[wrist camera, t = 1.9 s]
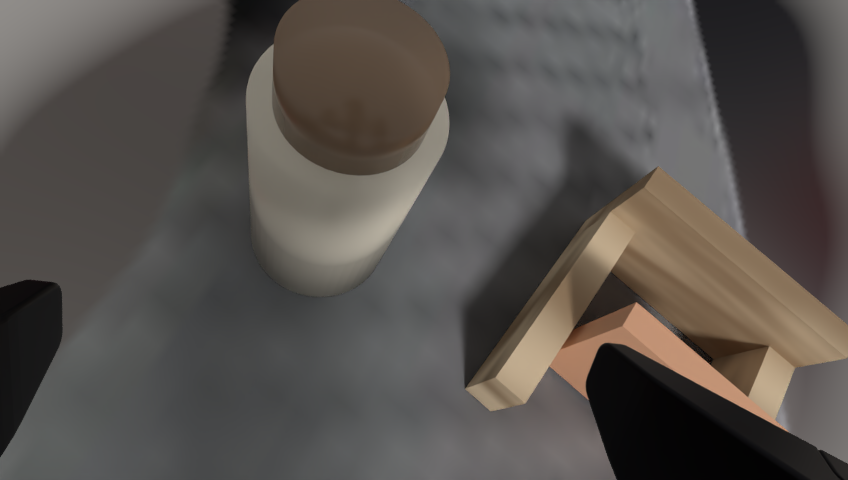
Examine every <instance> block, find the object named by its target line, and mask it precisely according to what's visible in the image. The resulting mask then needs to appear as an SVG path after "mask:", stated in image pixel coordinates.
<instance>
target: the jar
mask: <svg viewBox="0 0 848 480" xmlns="http://www.w3.org/2000/svg"><path fill="white" fill-rule="evenodd" d="M449 80H450V67H449V61H448V57H447V53H446V51H445V48H444V46H443V44H442V42H441V40H440V38H439V37H438V35H437V34H436V32H435V31H434V29H433V28H432V27H431V26H430V25H429V24H428V23H427V21H426V20H424V19H423V18H422V17H421V16H420V15H419V14H418V13H417V12H415V11H414V10H413V9H411V8H410V7H408V6H407V5H405V4H403V3H402V2H400V1H398V0H299V1H298V2H296V3H295V4H294V5H293V6H291V7H290V9H289V10H288V11H287V12H286V13H285V14H284V16H283V17H282V19H281V20H280V22H279V24H278V27H277V29H276V33H275V37H274V44H273V45H272V46H270V47H269V48H268V49H267V50H266V51H265V52H264V53H263V55H262V56H261V57H260V58H259V60H258V61H257V63H256V64H255V66H254V68H253V70H252V72H251V75H250V77H249V81H248V85H247V90H246V119H247V144H248V170H249V196H250V222H251V241H252V246H253V251H254V253H255V256H256V258H257V260H258V262H259V264H260V266H261V267H262V268H263V270H264V271H265V272H266V273H267V274H268V275H269V276H270V277H271V278H272V279H273V280H274V281H275V282H276V283H278V284H279V285H281V286H282V287H284V288H286V289H288V290H290V291H292V292H295V293H298V294H301V295H305V296H311V297H329V296H335V295H339V294H342V293H345V292H348V291H350V290H352V289H354V288H356V287H357V286H359V285H360V284H361V283H363V282H364V281H365V280H366V279H367V278H368V277H369V276H370V275H371V274H372V272H373V271H374V270H375V268H376V266H377V265H378V263H379V261H380V260H381V258H382V256H383V254H384V253H385V251H386V249H387V248H388V246H389V244H390V243H391V241H392V239H393V237H394V236H395V234H396V232H397V231H398V229H399V227H400V226H401V224H402V222H403V220H404V219H405V217H406V215H407V214H408V212H409V210H410V208H411V207H412V205H413V203H414V202H415V200H416V198H417V197H418V195H419V193H420V191H421V190H422V188H423V186H424V185H425V183H426V181H427V180H428V178H429V176H430V174H431V173H432V171H433V169H434V168H435V166H436V164H437V163H438V161H439V159H440V157H441V156H442V154H443V151H444V149H445V147H446V144H447V139H448V135H449V124H450V123H449V111H448V107H447V102H446V99H445V95H446V93H447V90H448V86H449Z"/></svg>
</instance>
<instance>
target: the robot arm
mask: <svg viewBox="0 0 848 480" xmlns="http://www.w3.org/2000/svg"><path fill="white" fill-rule="evenodd" d="M61 338H62V292H61V288H60V286H59V285H58V284H57V283H54V282H47V281H38V280H24V281H21V282H17V283H14V284H11V285H7V286H4V287H1V288H0V457H1V455H2V454H3V452H4V451H5V449H6V448H7V446H8V444H9V443H10V441H11V440H12V438H13V436H14V435H15V433H16V431H17V429H18V427H19V425H20V424H21V422H22V420H23V418H24V416H25V414H26V412H27V410H28V408H29V406H30V404H31V402H32V400H33V398H34V396H35V394H36V392H37V390H38V388H39V386H40V384H41V382H42V380H43V378H44V376H45V374H46V372H47V370H48V368H49V366H50V364H51V362H52V360H53V358H54V356H55V354H56V352H57V350H58V348H59V345H60V342H61ZM586 393H587V396H588V399H589V402H590V405H591V408H592V411H593V414H594V417H595V420H596V423H597V426H598V429H599V432H600V435H601V438H602V441H603V444H604V447H605V450H606V453H607V456H608V459H609V461H610V464H611V467H612V469H613V471H614V474H615V476H616V479H617V480H848V464H847V463H845V462H843V461H841V460H840V459H838V458H836V457H834V456H832V455H830V454H828V453H826V452H825V451H823V450H818V449H817V448H816V447H815V446H813V445H811V444H809V443H808V442H806V441H804V440H802V439H800V438H798V437H796V436H795V435H793V434H791V433H789V432H787V431H785V430H783V429H781V428H780V427H778V426H776V425H774V424H772V423H770V422H768V421H766V420H765V419H763V418H761V417H759V416H757V415H755V414H753V413H752V412H750V411H748V410H746V409H744V408H742V407H740V406H738V405H737V404H735V403H733V402H731V401H729V400H727V399H725V398H723V397H722V396H720V395H718V394H716V393H714V392H712V391H710V390H709V389H707V388H705V387H703V386H701V385H699V384H697V383H695V382H694V381H692V380H690V379H688V378H686V377H684V376H682V375H680V374H679V373H677V372H675V371H673V370H671V369H669V368H667V367H666V366H664V365H662V364H660V363H658V362H656V361H654V360H652V359H651V358H649V357H647V356H645V355H643V354H641V353H639V352H638V351H636V350H634V349H632V348H630V347H628V346H626V345H623V344H616V343H604V344H602V345H601V346H600V347H599V348H598V350H597V353H596V355H595V358H594V360H593V363H592V365H591V368H590V371H589V373H588V376H587V379H586Z"/></svg>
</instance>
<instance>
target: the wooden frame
mask: <svg viewBox="0 0 848 480" xmlns="http://www.w3.org/2000/svg"><path fill="white" fill-rule="evenodd" d="M610 271H611V272H612V273H613V274H614V275H615V276H616V277H618V278H619V279H620V280H621V281H622V282H623V283H625V284H626V285H627V286H628V287H629V288H630V289H632V290H633V291H634V292H635V293H636V294H638V295H639V296H640V297H641V298H642V299H643V300H645V301H646V302H647V303H648V304H649V305H650V306H652V307H653V308H654V309H655V310H656V311H657V312H659V313H660V314H661V315H662V316H663V317H665V318H666V319H667V320H668V321H669V322H670V323H672V324H673V325H674V326H675V327H676V328H677V329H679V330H680V331H681V332H682V333H683V334H684V335H686V336H687V337H688V338H689V339H690V340H691V341H693V342H694V343H695V344H696V345H697V346H699V347H700V348H701V349H702V350H703V351H704V352H706V353H707V354H708V355H709V356H710V357H711V358H713V361H712V363H711V366H712V367H713V368H714V369H716V370H717V371H718V372H719V373H720V374H721V375H723V376H724V377H725V378H726V379H727V380H728V381H730V382H731V383H732V384H733V385H734V386H735V387H737V388H738V389H739V390H740V391H741V392H742V393H744V394H745V395H746V396H747V397H748V398H750V399H751V400H752V401H753V402H754V403H755V404H757V405H758V406H759V407H760V408H761V409H762V410H764V411H765V412H766V413H767V414H768V415H769V416H771V417H772V418H773V419H774V420H775V419H776V416H777V414H778V411H779V408H780V406H781V403H782V401H783V398H784V395H785V393H786V390H787V387H788V385H789V382H790V379H791V377H792V374H793V372H794V369H795V368H796V367H801V366H806V365H813V364H818V363H823V362H829V361H835V360H840V359H846V358H847V357H848V325H847V324H846V323H845V322H843V321H842V320H841V319H840V318H839V317H837V316H836V315H835V314H834V313H833V312H831V311H830V310H829V309H828V308H827V307H826V306H824V305H823V304H822V303H821V302H820V301H818V300H817V299H816V298H815V297H813V296H812V295H811V294H810V293H809V292H808V291H806V290H805V289H804V288H803V287H802V286H801V285H799V284H798V283H797V282H796V281H795V280H793V279H792V278H791V277H790V276H789V275H787V274H786V273H785V272H784V271H783V270H781V269H780V268H779V267H778V266H777V265H775V264H774V263H773V262H772V261H771V260H769V259H768V258H767V257H766V256H765V255H764V254H762V253H761V252H760V251H759V250H758V249H756V248H755V247H754V246H753V245H751V244H750V243H749V242H748V241H747V240H746V239H744V238H743V237H742V236H741V235H740V234H739V233H737V232H736V231H735V230H734V229H733V228H731V227H730V226H729V225H728V224H727V223H725V222H724V221H723V220H722V219H721V218H719V217H718V216H717V215H716V214H715V213H713V212H712V211H711V210H710V209H709V208H708V207H706V206H705V205H704V204H703V203H702V202H700V201H699V200H698V199H697V198H696V197H694V196H693V195H692V194H691V193H690V192H688V191H687V190H686V189H685V188H684V187H682V186H681V185H680V184H679V183H678V182H677V181H675V180H674V179H673V178H672V177H671V176H669V175H668V174H667V173H666V172H665V171H663V170H662V169H661V168H660V167H659V166H658V167H657V168H655V169H654V170H653V171H651V172H650V173H649V174H647V175H646V176H645V177H643V178H642V179H641V180H639V181H638V182H637V183H635V184H634V185H633V186H631V187H630V188H629V189H627V190H626V191H625V192H623V193H622V194H621V195H619V196H618V197H617V198H615V199H614V200H613V201H611V202H610V203H609V204H607V205H606V206H605V207H603V208H602V209H601V210H599V211H598V212H597V213H595V214H594V215H593V216H591V217H590V218H589V219H587V220H586V221H585V222H584V224H583V225H582V227H581V228H580V229H579V231H578V232H577V234H576V235H575V236H574V238H573V239H572V240H571V242H570V243H569V245H568V246H567V247H566V249H565V250H564V252H563V253H562V254H561V256H560V257H559V259H558V260H557V261H556V263H555V264H554V266H553V267H552V268H551V270H550V271H549V273H548V274H547V275H546V277H545V278H544V279H543V281H542V282H541V284H540V285H539V286H538V288H537V289H536V291H535V292H534V293H533V295H532V296H531V298H530V299H529V300H528V302H527V303H526V305H525V306H524V307H523V309H522V310H521V312H520V313H519V314H518V316H517V317H516V318H515V320H514V321H513V323H512V324H511V325H510V327H509V328H508V330H507V331H506V332H505V334H504V335H503V337H502V338H501V339H500V341H499V342H498V344H497V345H496V346H495V348H494V349H493V350H492V352H491V353H490V355H489V356H488V357H487V359H486V360H485V362H484V363H483V364H482V366H481V367H480V369H479V370H478V371H477V373H476V374H475V376H474V377H473V378H472V380H471V381H470V383H469V384H468V385H467V387H466V388H465V389H466V390H467V391H468V392H469V393H470V394H472V395H473V396H474V397H475V398H476V399H477V400H478V401H480V402H481V403H482V404H483V405H484V406H485V407H486V408H487V409H489V410H490V411H495V410H499V409H504V408H508V407H512V406H517V405H521V404H525V403H526V401H527V400H528V398H529V397H530V395H531V394H532V392H533V391H534V389H535V388H536V386H537V384H538V383H539V381H540V380H541V378H542V377H543V375H544V374H545V372H546V370H547V369H548V367H549V366H550V364H551V363H552V361H553V360H554V358H555V357H556V355H557V353H558V352H559V350H560V349H561V347H562V346H563V344H564V343H565V341H566V339H567V338H568V336H569V335H570V333H571V332H572V330H573V329H574V327H575V325H576V324H577V322H578V321H579V319H580V318H581V316H582V315H583V313H584V312H585V310H586V308H587V307H588V305H589V304H590V302H591V301H592V299H593V298H594V296H595V294H596V293H597V291H598V290H599V288H600V287H601V285H602V284H603V282H604V281H605V279H606V277H607V276H608V274H609V273H610Z"/></svg>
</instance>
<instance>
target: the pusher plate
mask: <svg viewBox="0 0 848 480" xmlns="http://www.w3.org/2000/svg"><path fill="white" fill-rule="evenodd" d="M604 343H616V344H623V345H626V346H628V347H630V348H632V349H634V350H636V351H638V352H639V353H641V354H643V355H645V356H647V357H649V358H651V359H652V360H654V361H656V362H658V363H660V364H662V365H664V366H666V367H667V368H669V369H671V370H673V371H675V372H677V373H679V374H680V375H682V376H684V377H686V378H688V379H690V380H692V381H694V382H695V383H697V384H699V385H701V386H703V387H705V388H707V389H709V390H710V391H712V392H714V393H716V394H718V395H720V396H722V397H723V398H725V399H727V400H729V401H731V402H733V403H735V404H737V405H738V406H740V407H742V408H744V409H746V410H748V411H750V412H752V413H753V414H755V415H757V416H759V417H761V418H763V419H765V420H766V421H768V422H770V423H772V424H774V425H776V426H778V427H780V428H781V429H783V430H785V431H787V430H786V429H785V428H783V427H782V426H781V425H780V424H779V423H778V422H776V421H775V420H774V419H773V418H772V417H771V416H769V415H768V414H767V413H766V412H765V411H764V410H762V409H761V408H760V407H759V406H758V405H757V404H755V403H754V402H753V401H752V400H751V399H750V398H748V397H747V396H746V395H745V394H744V393H742V392H741V391H740V390H739V389H738V388H737V387H735V386H734V385H733V384H732V383H731V382H730V381H728V380H727V379H726V378H725V377H724V376H723V375H721V374H720V373H719V372H718V371H717V370H716V369H714V368H713V367H712V366H711V365H710V364H709V363H707V362H706V361H705V360H704V359H703V358H701V357H700V356H699V355H698V354H697V353H696V352H694V351H693V350H692V349H691V348H690V347H689V346H687V345H686V344H685V343H684V342H683V341H682V340H680V339H679V338H678V337H677V336H676V335H675V334H673V333H672V332H671V331H670V330H669V329H667V328H666V327H665V326H664V325H663V324H662V323H660V322H659V321H658V320H657V319H656V318H655V317H653V316H652V315H651V314H650V313H649V312H648V311H646V310H645V309H644V308H643V307H642V306H641V305H639V304H638V303H637V302H636V303H633V304H631V305H629V306H626V307H624V308H622V309H620V310H617V311H615V312H613V313H610V314H608V315H606V316H603V317H601V318H599V319H596V320H594V321H592V322H589V323H587V324H585V325H582V326H580V327H578V328H575V329H573V330H572V332H571V333H570V335H569V336H568V338H567V339H566V341H565V343H564V344H563V346H562V347H561V349H560V350H559V352H558V353H557V355H556V357H555V358H554V360H553V361H552V363H551V364H550V367H551V368H552V369H553V370H554V371H556V372H557V373H558V374H559V375H560V376H561V377H562V378H564V379H565V380H566V381H567V382H568V383H569V384H571V385H572V386H573V387H574V388H575V389H576V390H577V391H579V392H580V393H581V394H582V395H583V396H584V397H586V398H587V399H588V396H587V393H586V379H587V376H588V373H589V371H590V368H591V365H592V363H593V360H594V358H595V355H596V353H597V350H598V348H599V347H600V346H601V345H602V344H604ZM588 400H589V399H588ZM787 432H788V431H787Z"/></svg>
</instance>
